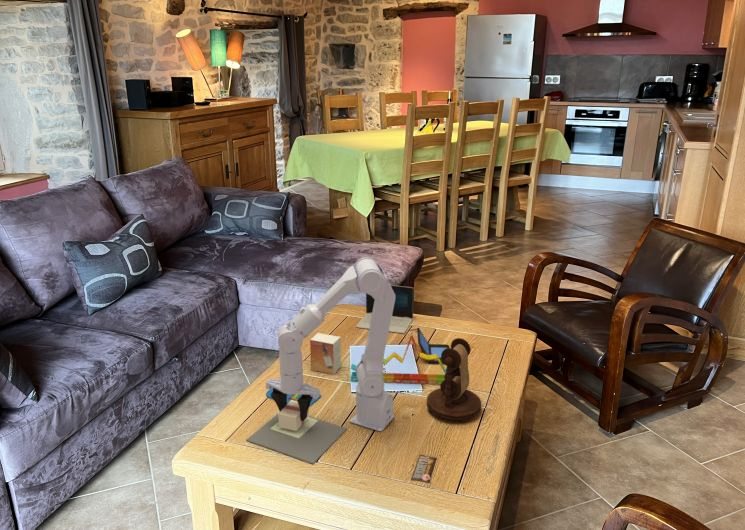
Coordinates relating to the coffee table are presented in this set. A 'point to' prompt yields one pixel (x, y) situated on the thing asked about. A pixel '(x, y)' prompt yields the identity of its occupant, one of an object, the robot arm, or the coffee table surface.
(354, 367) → the chart
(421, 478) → the chocolate bar
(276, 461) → the coffee table surface
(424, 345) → the handheld game console
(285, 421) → the card deck
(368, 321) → the laptop
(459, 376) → the brown upright jointed piece
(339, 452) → the coffee table surface
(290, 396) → the handheld gaming device
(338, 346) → the small box
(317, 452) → the mat
